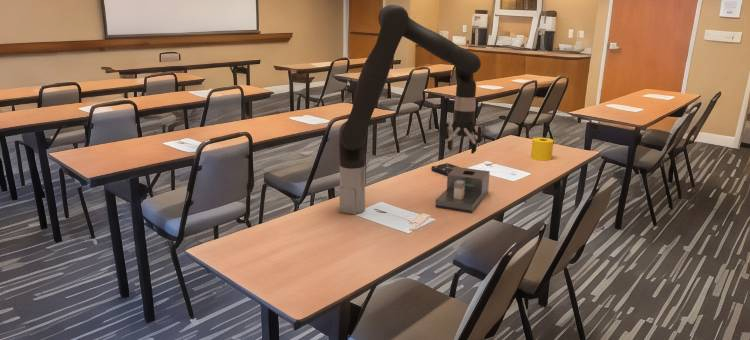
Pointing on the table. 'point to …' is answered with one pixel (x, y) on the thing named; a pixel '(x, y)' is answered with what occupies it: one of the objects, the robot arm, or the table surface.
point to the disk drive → (443, 168)
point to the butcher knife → (419, 220)
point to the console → (472, 193)
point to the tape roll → (542, 149)
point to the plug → (459, 189)
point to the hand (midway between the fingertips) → (461, 151)
